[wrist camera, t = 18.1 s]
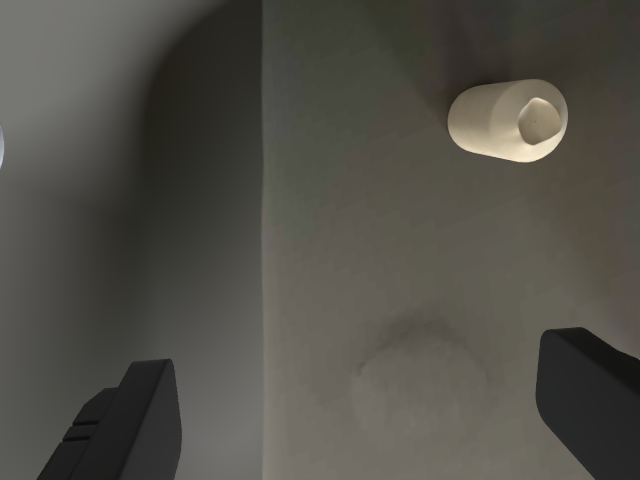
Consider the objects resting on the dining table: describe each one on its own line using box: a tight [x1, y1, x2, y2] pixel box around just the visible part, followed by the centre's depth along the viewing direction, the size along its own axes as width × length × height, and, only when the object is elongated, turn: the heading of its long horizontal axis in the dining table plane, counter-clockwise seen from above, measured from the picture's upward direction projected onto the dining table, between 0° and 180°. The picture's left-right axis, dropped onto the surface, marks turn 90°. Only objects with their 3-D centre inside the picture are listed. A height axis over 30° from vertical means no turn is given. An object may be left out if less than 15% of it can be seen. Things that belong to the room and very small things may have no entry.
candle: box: [448, 79, 568, 162], centre depth 36 cm, size 6×6×10 cm
